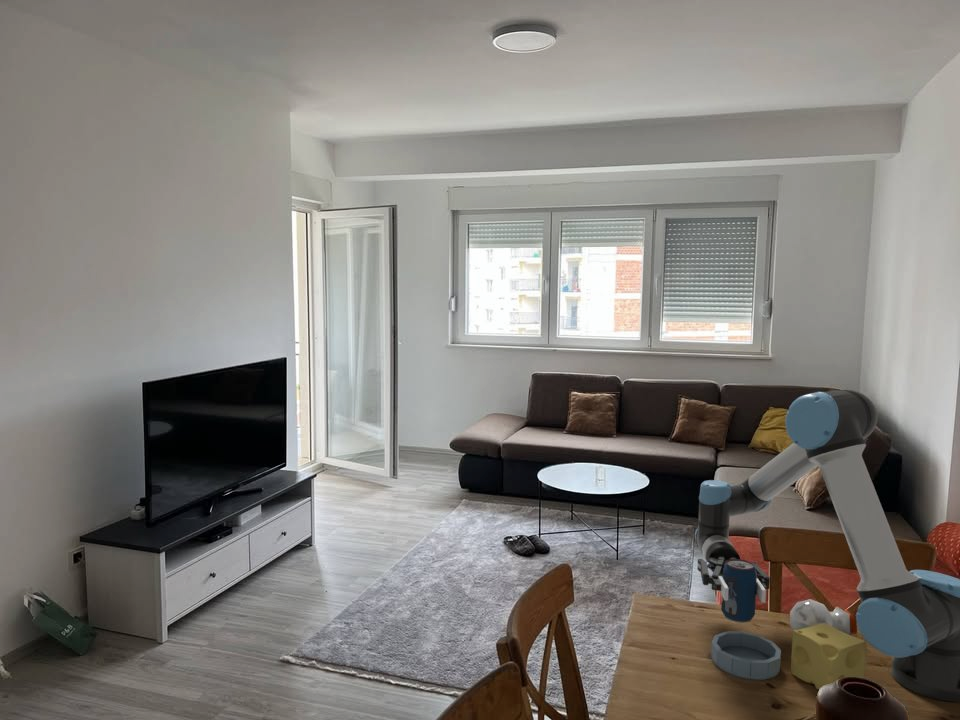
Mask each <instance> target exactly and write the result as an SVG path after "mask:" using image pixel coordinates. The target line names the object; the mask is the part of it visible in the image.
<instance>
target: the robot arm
mask: <svg viewBox="0 0 960 720" xmlns="http://www.w3.org/2000/svg"><path fill="white" fill-rule="evenodd" d="M877 423H878V411H877V408H876V407H875V404H874V403H873V401H872V400H871V399H870V398H869V397H868V396H867V395H865V394H864V393H862V392H859V391H856V390H851V389H841V390H833V391H831V390H830V391H815V392H810V393H807V394H804V395H800V396H798V397H797V398H796V399H795V400H794V401H792V403H791V405H789V408H788V411H786V415H785V430H786V434H787V436H788V437H789V439H790V440H791V441H792V443H791V444H790V445H789V446H788V447H786V448H785V449H784V450H783V451H781V452H780V453H778V454H777V455H776V456H775V457H773V458H772V459H771V460H769V461H768V462H767V463H765V465H762V467H760V468H759V469H758V470H757V471H756V472H754V473H752V474H751V476H749V477H748V478H747V479H745V480H743V482H741V483H740V484H739V483H738V484H735V485H730V483H728V482H726V481H723V480H715V479H714V480H713V479H709V480H704V481H703V482H702V483H701V484H700V488H699V496H698V500H699V501H698V523H697V524H698V525H697V528H696V529H695V532H694V539H695V541H694V542H695V543H696V546H697V548H698V550H699V551H700V553H701V555H702V557H703V558H704V559H702V558H698V559H697V569H696V570H697V571H698V572H700V576H701V580H702V581H701V582H702V585H703V586H709V584H710V585H711V589H712V591H719V593H720V596H721V598H722V597H723V599H724V600H728V589H729V588H728V586H727V585H726V583H725V581H724V579H723V568H724V567H725V565H726V562H727V561H728V560H730V559H741V556H740V554H739V553H738V551H737V549H736V548H735V547H734V545H733V544H732V542H731V541H730V540H729V539H730V538H729V537H730V536H729V532H730V518H731V517H734V516H739V515H745V514H749V513H756V512H757V513H758V512H760V511H762V510H764V509H766V508H768V507H769V506H770V505H771V503H772V502H771V501H772V499H773V498H775V497H777V495H780V493H782V492H784V491H785V490H786V489H787V488H789V487H790V486H792V485H793V484H795V483H796V482H798V481H799V480H800V479H801V478H803V477H804V476H806V475H807V474H808V473H810V472H811V471H813V470H814V469H815V468H817V467H819V469H820V473H821V475H822V478H823V480H824V483H825V485H826V488H827V491H828V494H829V497H830V500H831V502H832V504H833V508H834V510H835V512H836V516H837V517H838V520H839V523H840V526H841V528H842V529H841V530H842V531H843V535H844V536H845V539H846V542H847V544H848V548H849V550H850V552H851V555H852V558H853V560H854V564H855V566H856V568H857V572H858V574H859V577H860V582H859V583H858V585H857V587H856V592H857V595H858V597H859V600H860V602H861V603H860V605H858V607H857V612H856V614H855V616H856V621H857V629H858V630H859V633H860V634H861V636H862V637H863V639H865V640H864V641H865V642H866V643H868V644H869V645H870V646H871V647H872V648H873V649H876V650H877V651H879V652H880V653H881V654H883V655H885V656H888V657H892V661H891V666H890V667H891V669H890V674H891V675H892V678H894V680H895V681H896V682H897V683H898V684H900V685H902V687H904V688H906V689H908V690H910V691H912V692H914V693H916V694H919V695H921V696H924V697H926V698H931V699H935V700H940V701H944V700H945V702H953V703H955V702H957V703H958V702H960V578H957V577H954V576H950V575H949V574H943V573H941V572H936V571H931V570H926V569H925V570H924V569H911V570H910V571H909V570H908V569H907V567H906V565H905V563H904V560H903V557H902V555H901V552H900V550H899V547H898V544H897V542H896V540H895V537H894V534H893V532H892V529H891V526H890V525H889V522H888V518H887V517H886V514H885V511H884V509H883V507H882V503H881V502H880V499H879V496H878V494H877V491H876V489H875V486H874V483H873V481H872V479H871V478H872V477H870V473H869V471H868V468H867V466H866V463H865V460H864V458H863V452H864V450H865V448H866V447H867V443H866V442H865V439H866V438H869V436H870V435H871V434H872V433H873V432H874V430H875V429H876V427H877ZM751 563H753V564H754V568H755V571H756V573H757V581H756V597H757V598H758V599H759V601H760V602H761V603H765V604H766V597H767V596H766V595H767V590H769V589H770V582H771V578H770V576H769V575H768V574H767V573H766V572H765V571H764V570H763V569H762V568H761V567H759V565H758V562H757V561H752V562H751ZM709 570H710V571H711V572H712V574H711V575H710V573H709Z"/></svg>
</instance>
